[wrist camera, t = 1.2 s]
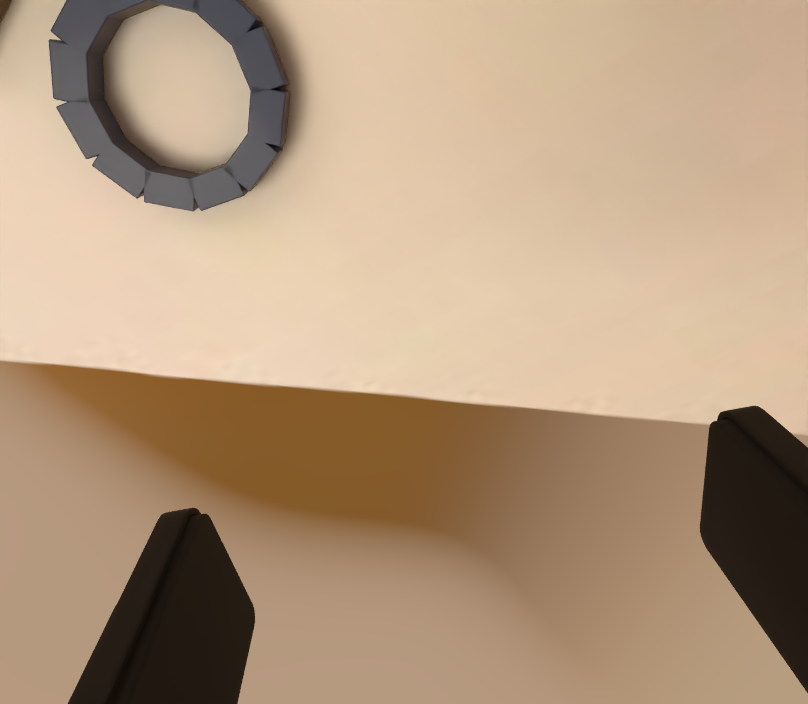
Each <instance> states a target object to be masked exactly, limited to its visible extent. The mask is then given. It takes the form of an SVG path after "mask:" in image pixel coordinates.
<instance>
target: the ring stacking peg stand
mask: <svg viewBox="0 0 808 704" xmlns="http://www.w3.org/2000/svg"><path fill="white" fill-rule="evenodd" d="M10 2H11V0H0V22H1V20H2V18H3V16H4V14H5V12H6V10H7V8H8V6H9V4H10Z"/></svg>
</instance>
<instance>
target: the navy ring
mask: <svg viewBox="0 0 808 704" xmlns="http://www.w3.org/2000/svg"><path fill="white" fill-rule="evenodd" d="M160 4H161V5H165V6H169V7H174V8H178V9H182V10H186V11H190V12H195V13H197V14H198V15H199V16H200V17H201V18H202V19H203V20H204V21H206V22H207V23H208V24H209V25H210V26H211V27H212V28H213V29H214V30H216V31H217V32H218V33H219V34H220V35H221V36H222V37H223V38H224V39H226V40H227V41H228V42H229V43H230V44H231V45H232V47H233V49H234V52H235V54H236V57H237V59H238V61H239V64H240V66H241V69H242V71H243V73H244V76H245V78H246V80H247V83H248V85H249V88H250V90H251V94H250V108H249V122H248V134H247V136H246V137H245V138H244V140H243V141H242V143H241V144H240V145H239V147H238V148H237V150H236V151H235V152H234V154H233V155H232V157H231V158H230V159H229V161H228V162H227V163H226V164H223V165H220V166H217V167H215V168H212V169H209V170H206V171H204V172H201V173H195V172H190V171H185V170H180V169H175V168H170V167H165V166H160V165H159V164H158V163H156V162H155V161H154V160H152V159H151V158H150V157H149V156H147V155H146V154H145V153H143V152H142V151H141V150H139V149H138V148H137V147H136V146H134V145H133V144H132V143H130V142H129V141H128V140H126V138H125V136H124V134H123V132H122V130H121V129H120V127H119V125H118V123H117V121H116V119H115V117H114V116H113V114H112V112H111V110H110V108H109V106H108V104H107V103H106V101H105V99H104V76H103V53H104V52H105V50H106V48H107V46H108V45H109V43H110V41H111V39H112V38H113V36H114V34H115V32H116V31H117V29H118V27H119V25H120V24H121V22H122V20H123V19H126V18H128V17H131V16H133V15H136V14H138V13H140V12H143V11H145V10H148V9H150V8H153V7H155V6H158V5H160ZM262 23H263V21H262V19H261V18H260V17H258V16H257V15H256V14H255V13H254V12H253V11H252V10H251V9H250V8H249V7H248V6H247V5H246V4H245V3H244V2H243V1H241V0H67V1H66V2H65V4H64V6H63V8H62V10H61V12H60V14H59V16H58V18H57V20H56V21H55V23H54V25H53V27H52V29H51V32H52V33H53V34H55V35H56V36H57V37H58V38H60V39H61V40H62V41H61V40H52V39H50V40H49V49H50V61H51V74H52V86H53V97H54V99H57V100H62V101H66V102H67V103H64V104H62V105H59V106H57V107H56V108H57V110H58V111H59V113H60V115H61V117H62V118H63V120H64V122H65V123H66V125H67V127H68V129H69V130H70V132H71V134H72V135H73V137H74V139H75V141H76V142H77V144H78V146H79V148H80V149H81V151H82V153H83V154H84V156H85V158H86V159H89V158H92V157H96V156H97V158H96V160H95V161H94V163H93V165H92V166H93V167H95V168H96V169H98V170H99V171H100V172H102V173H103V174H104V175H106V176H107V177H108V178H110V179H111V180H113V181H114V182H115V183H117V184H118V185H119V186H121V187H122V188H123V189H125V190H126V191H127V192H129V193H130V194H132V195H133V196H134V197H136V198H139V197H141V196H143V195H144V202H147V203H152V204H157V205H163V206H168V207H173V208H178V209H184V210H189V211H195V210H196V209H197V208H200V210H201V211H202V210H205V209H208V208H211V207H214V206H216V205H219V204H222V203H225V202H228V201H230V200H233V199H236V198H239V197H242V196H244V195H245V194H246V193H247V192H248V191H251V190H252V189H253V188H254V187H255V186H256V185H257V184H258V182H259V181H260V180H261V178H262V177H263V176H264V174H265V173H266V172H267V170H268V169H269V168H270V166H271V165H272V164H273V162H274V161H275V160H276V158H277V157H278V156H279V154H280V153H281V152H282V150H283V149H282V148H281V147H280V146H281V145H283V144H284V143H285V142H286V133H287V123H288V113H289V103H290V91H287V90H282V89H278V88H280V87H282V86H285V85H288V84H289V81H288V78H287V75H286V73H285V70H284V68H283V65H282V62H281V60H280V57H279V55H278V52H277V49H276V47H275V44H274V42H273V39H272V36H271V34H270V31H269V29H267V28H265V27H262V26H261V24H262ZM260 26H261V27H260Z"/></svg>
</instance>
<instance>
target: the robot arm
mask: <svg viewBox="0 0 808 704" xmlns="http://www.w3.org/2000/svg"><path fill="white" fill-rule="evenodd" d="M700 533H701V537H702V540H703V542H704V544H705V546H706V548H707V550H708V551H709V552H710V554H711V555H712V557H713V558H714V560H715V561H716V562H717V564H718V565H719V567H720V568H721V570H722V571H723V572H724V574H725V575H726V577H727V578H728V580H729V581H730V583H731V584H732V585H733V587H734V588H735V590H736V591H737V592H738V594H739V596H740V597H741V598H742V600H743V601H744V603H745V604H746V606H747V607H748V608H749V610H750V611H751V613H752V614H753V615H754V617H755V618H756V620H757V621H758V622H759V624H760V625H761V627H762V628H763V630H764V631H765V633H766V634H767V635H768V637H769V638H770V640H771V641H772V643H773V644H774V646H775V647H776V648H777V650H778V651H779V653H780V654H781V656H782V657H783V658H784V660H785V661H786V663H787V664H788V666H789V667H790V668H791V670H792V671H793V673H794V674H795V676H796V677H797V678H798V680H799V681H800V683H801V684H802V685H803V687H804V688H805V690H806V691H807V693H808V448H807V447H806V446H805V445H804V444H803V443H802V442H800V441H799V440H798V439H797V438H796V437H794V436H793V435H792V434H791V433H790V432H789V431H788V430H787V429H785V428H784V427H783V426H782V425H781V424H780V423H778V422H777V421H776V420H775V419H774V418H773V417H772V416H770V415H769V414H768V413H767V412H766V411H765V410H763V409H762V408H760V407H758V406H750V407H745V408H739V409H734V410H728V411H723V412H721V413H720V414H719V416H718V419H717V421H714V422H712V423H711V424H710V428H709V437H708V448H707V458H706V468H705V479H704V490H703V501H702V510H701V522H700ZM254 624H255V613H254V607H253V604H252V602H251V600H250V598H249V596H248V594H247V592H246V590H245V588H244V586H243V584H242V582H241V580H240V577H239V576H238V573H237V571H236V569H235V567H234V565H233V563H232V561H231V559H230V557H229V555H228V553H227V551H226V549H225V547H224V545H223V543H222V541H221V539H220V537H219V535H218V533H217V531H216V529H215V526H214V524H213V522H212V520H211V518H210V517H209V515H207V514H201V513H200V512H199V510H198V509H196V508H189V509H183V510H178V511H172V512H168V513H164V514H162V515H161V516H160V518H159V519H158V521H157V523H156V526H155V527H154V529H153V531H152V534H151V536H150V538H149V540H148V542H147V544H146V546H145V548H144V550H143V552H142V554H141V556H140V558H139V560H138V562H137V564H136V566H135V568H134V571H133V572H132V575H131V577H130V579H129V581H128V583H127V585H126V587H125V589H124V591H123V593H122V595H121V597H120V599H119V601H118V603H117V605H116V606H115V608H114V610H113V612H112V614H111V616H110V618H109V620H108V622H107V624H106V626H105V628H104V631H103V633H102V635H101V637H100V639H99V641H98V643H97V645H96V647H95V649H94V651H93V653H92V655H91V657H90V659H89V661H88V663H87V665H86V667H85V670H84V671H83V674H82V676H81V678H80V680H79V682H78V684H77V686H76V688H75V690H74V692H73V694H72V696H71V698H70V700H69V702H68V704H237V702H238V698H239V693H240V689H241V684H242V679H243V675H244V670H245V666H246V661H247V657H248V652H249V648H250V643H251V639H252V633H253V630H254Z"/></svg>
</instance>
